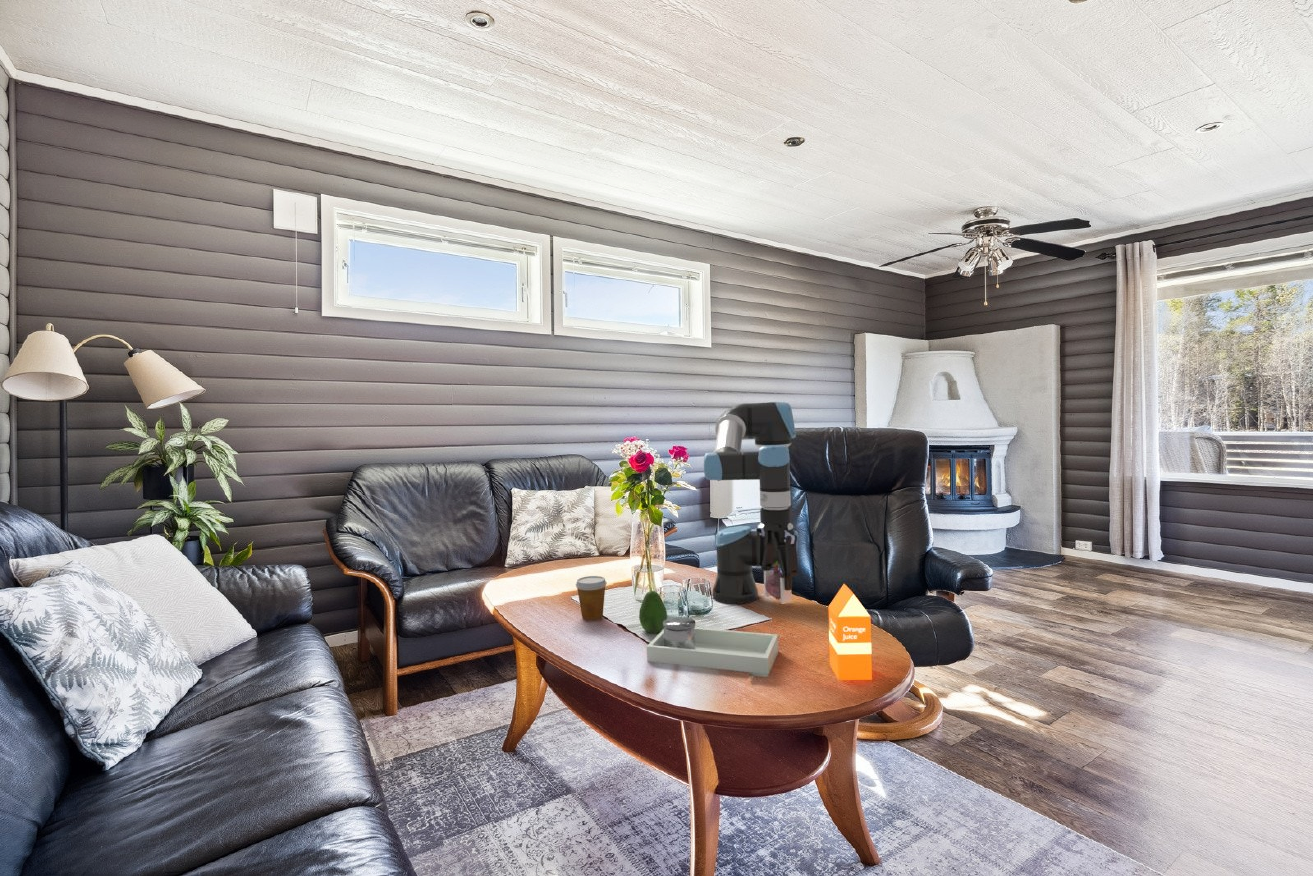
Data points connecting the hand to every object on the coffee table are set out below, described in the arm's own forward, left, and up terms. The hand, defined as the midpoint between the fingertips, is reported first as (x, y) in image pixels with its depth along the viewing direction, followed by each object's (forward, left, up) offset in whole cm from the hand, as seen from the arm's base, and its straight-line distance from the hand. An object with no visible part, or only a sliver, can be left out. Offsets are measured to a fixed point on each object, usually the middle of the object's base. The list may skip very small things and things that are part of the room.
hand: (777, 598), depth 156 cm
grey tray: (+5, -16, -15) cm, 22 cm away
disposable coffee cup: (-16, -60, -15) cm, 64 cm away
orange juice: (+5, +17, -15) cm, 23 cm away
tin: (+5, -25, -14) cm, 29 cm away
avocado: (-8, -37, -15) cm, 40 cm away
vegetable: (0, 0, -1) cm, 1 cm away
